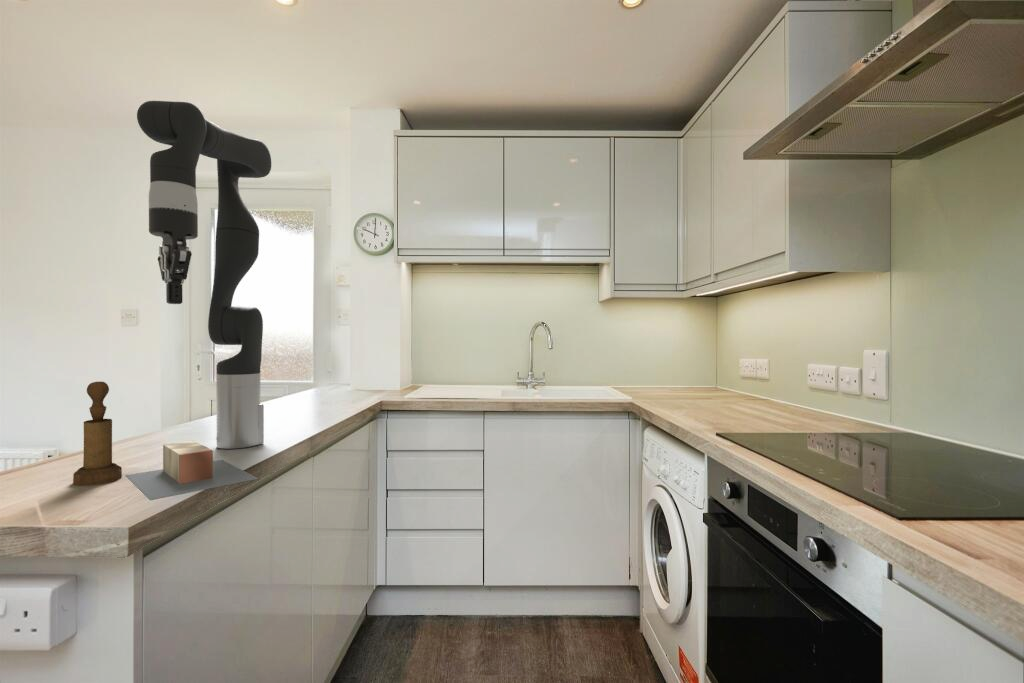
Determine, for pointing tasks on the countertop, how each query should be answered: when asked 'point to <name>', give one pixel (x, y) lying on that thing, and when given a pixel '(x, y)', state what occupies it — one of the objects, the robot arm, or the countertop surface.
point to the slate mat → (165, 485)
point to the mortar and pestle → (97, 443)
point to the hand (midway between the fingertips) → (174, 303)
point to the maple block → (187, 461)
